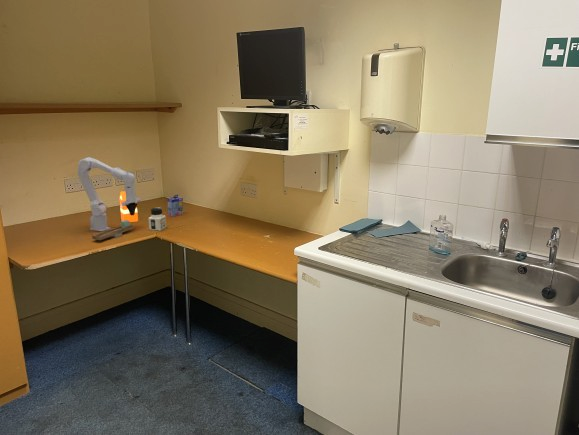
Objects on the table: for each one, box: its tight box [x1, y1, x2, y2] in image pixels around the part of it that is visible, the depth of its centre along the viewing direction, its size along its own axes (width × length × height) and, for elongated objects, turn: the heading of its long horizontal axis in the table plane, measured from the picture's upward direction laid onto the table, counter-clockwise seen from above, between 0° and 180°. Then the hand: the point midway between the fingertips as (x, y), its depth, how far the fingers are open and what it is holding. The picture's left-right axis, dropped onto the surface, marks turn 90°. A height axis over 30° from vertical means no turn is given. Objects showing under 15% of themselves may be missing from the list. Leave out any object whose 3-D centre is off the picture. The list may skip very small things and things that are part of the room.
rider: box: [120, 220, 131, 228], centre depth 269 cm, size 3×4×4 cm
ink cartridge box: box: [166, 194, 184, 218], centre depth 307 cm, size 10×6×14 cm, turn 145°
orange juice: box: [119, 190, 139, 223], centre depth 292 cm, size 8×9×20 cm
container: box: [148, 207, 167, 231], centre depth 275 cm, size 8×8×13 cm
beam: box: [91, 224, 135, 241], centre depth 261 cm, size 8×26×4 cm, turn 156°
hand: (132, 215), depth 273 cm, fingers closed
